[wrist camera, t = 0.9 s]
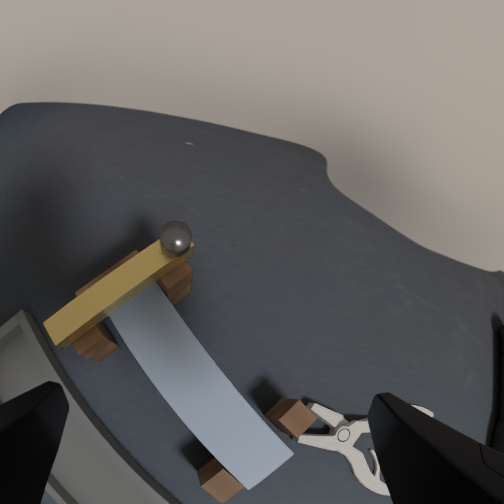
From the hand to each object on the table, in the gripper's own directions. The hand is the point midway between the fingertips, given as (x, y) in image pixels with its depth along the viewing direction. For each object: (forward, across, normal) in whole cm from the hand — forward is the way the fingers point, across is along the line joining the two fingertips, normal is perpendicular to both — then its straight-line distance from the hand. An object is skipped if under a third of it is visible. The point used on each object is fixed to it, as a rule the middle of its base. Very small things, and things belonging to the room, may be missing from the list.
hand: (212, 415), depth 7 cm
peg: (+12, +3, +9) cm, 15 cm away
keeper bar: (+10, +6, +1) cm, 12 cm away
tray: (+6, +12, +12) cm, 19 cm away
